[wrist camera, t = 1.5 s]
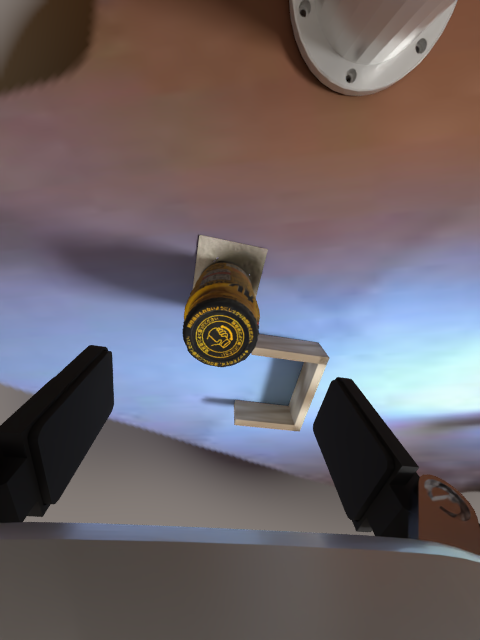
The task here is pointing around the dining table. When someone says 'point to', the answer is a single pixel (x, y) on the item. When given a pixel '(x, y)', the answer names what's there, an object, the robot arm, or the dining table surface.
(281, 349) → the u rest
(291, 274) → the dining table surface
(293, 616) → the robot arm
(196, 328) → the condiment
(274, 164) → the dining table surface
